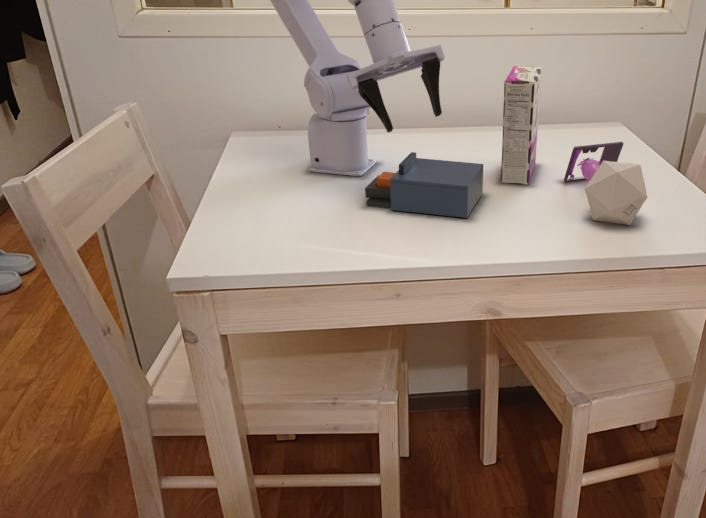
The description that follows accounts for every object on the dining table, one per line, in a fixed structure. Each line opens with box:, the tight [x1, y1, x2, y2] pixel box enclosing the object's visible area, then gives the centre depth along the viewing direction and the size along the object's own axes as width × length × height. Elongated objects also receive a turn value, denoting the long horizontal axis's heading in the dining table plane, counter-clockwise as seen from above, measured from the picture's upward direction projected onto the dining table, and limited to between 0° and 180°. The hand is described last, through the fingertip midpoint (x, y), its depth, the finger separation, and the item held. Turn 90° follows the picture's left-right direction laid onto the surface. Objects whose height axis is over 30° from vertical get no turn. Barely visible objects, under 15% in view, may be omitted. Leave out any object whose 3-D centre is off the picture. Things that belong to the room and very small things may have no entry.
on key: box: [377, 171, 396, 188], centre depth 111 cm, size 3×3×2 cm
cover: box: [390, 151, 484, 219], centre depth 109 cm, size 12×10×6 cm
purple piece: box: [563, 141, 625, 183], centre depth 117 cm, size 7×5×9 cm
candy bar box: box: [500, 65, 542, 186], centre depth 118 cm, size 11×5×16 cm, turn 168°
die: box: [584, 161, 648, 226], centre depth 104 cm, size 8×9×10 cm
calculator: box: [364, 174, 391, 210], centre depth 110 cm, size 16×9×2 cm, turn 75°
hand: (414, 122), depth 107 cm, fingers open, 7 cm apart
